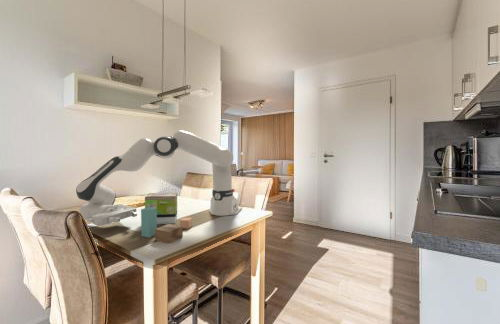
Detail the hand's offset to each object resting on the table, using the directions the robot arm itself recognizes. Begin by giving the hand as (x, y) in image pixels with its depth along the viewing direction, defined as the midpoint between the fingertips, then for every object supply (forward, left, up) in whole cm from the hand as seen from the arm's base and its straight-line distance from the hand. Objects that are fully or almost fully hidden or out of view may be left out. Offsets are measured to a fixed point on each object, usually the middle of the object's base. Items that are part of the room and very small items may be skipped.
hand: (127, 217), depth 114 cm
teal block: (0, +13, -7) cm, 15 cm away
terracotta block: (-16, +21, -7) cm, 27 cm away
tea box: (-18, +4, -7) cm, 20 cm away
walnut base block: (0, +24, -7) cm, 25 cm away
